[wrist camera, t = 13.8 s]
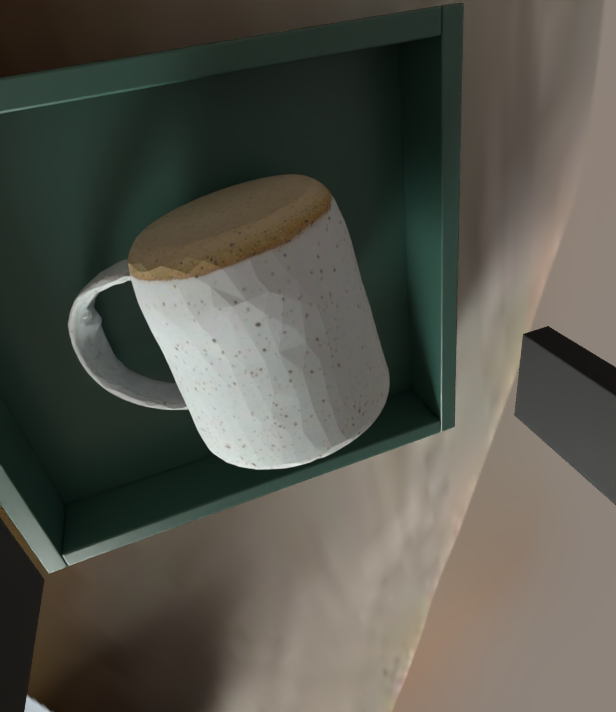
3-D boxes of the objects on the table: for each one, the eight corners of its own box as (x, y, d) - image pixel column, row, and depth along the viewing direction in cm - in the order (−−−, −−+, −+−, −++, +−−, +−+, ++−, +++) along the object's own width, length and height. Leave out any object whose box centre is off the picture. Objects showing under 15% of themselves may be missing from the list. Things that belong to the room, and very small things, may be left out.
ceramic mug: (294, 148, 19) (379, 188, 12) (346, 324, 23) (428, 419, 17) (23, 255, 18) (-34, 358, 11) (133, 418, 22) (136, 556, 16)
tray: (406, 13, 19) (464, 1, 16) (417, 387, 28) (455, 427, 25) (-187, 110, 15) (-268, 121, 12) (56, 509, 24) (48, 574, 21)
